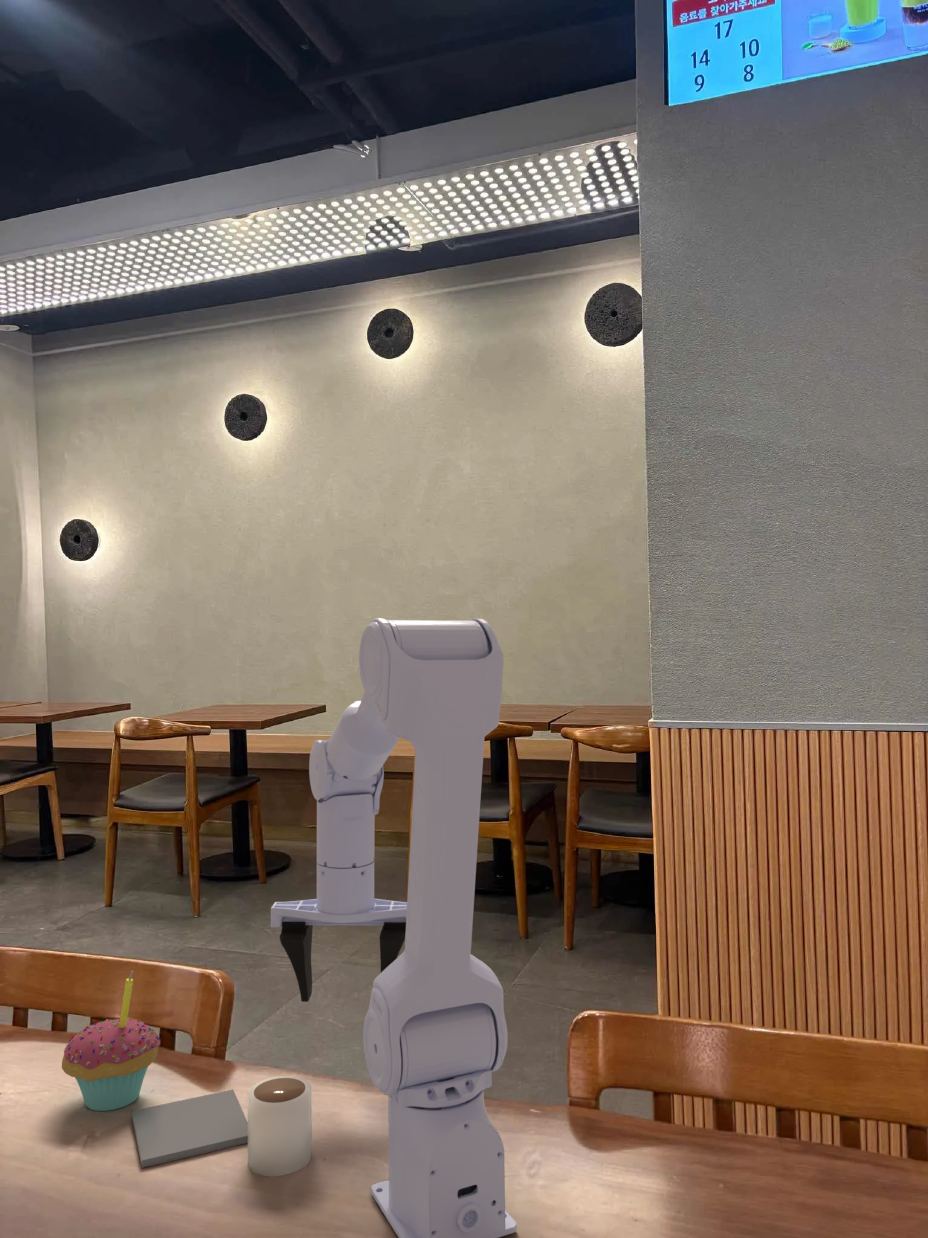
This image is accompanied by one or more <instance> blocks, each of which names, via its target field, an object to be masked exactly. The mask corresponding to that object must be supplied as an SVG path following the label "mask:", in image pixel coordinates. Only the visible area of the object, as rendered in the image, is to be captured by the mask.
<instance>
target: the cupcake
mask: <svg viewBox="0 0 928 1238" xmlns="http://www.w3.org/2000/svg"><path fill="white" fill-rule="evenodd" d="M133 973H134V970H131V971H130V973H129V977H128V978H126V980H125V984H124V991H123V998H122V1002H121V1003H122V1005H121V1009H120V1010H121V1011H120V1017H119V1018H116V1019H108V1020H104V1021H103V1020H100V1021H98V1022H95V1023H92V1024H90V1025H87V1026H85V1027H84V1028H83V1029H81V1030H80V1031H78V1032H77V1033H76V1034H75V1036H72V1037H71V1038H70V1039H68V1043H67V1044H66V1046H65V1048H64V1050H63V1056H62V1061H61V1069H62V1071H63V1073H64V1074H66V1075H68V1076H70V1077H72V1078H75V1081H76V1082H77V1085H78V1086H79V1090H80V1092H81V1095H82V1098H83V1101H84V1105H85V1106H86V1107H87V1108H88V1109H90V1110H92V1111H97V1112H108V1111H114V1110H118V1109H121V1108H124V1107H126V1106H128V1105H131V1104H133V1103H134V1102H135V1101H136V1100H137V1099H138V1098H139V1096H140V1092H141V1089H142V1085H143V1082H144V1079H145V1076H146V1073H147V1071H148V1068H149V1066H151V1064H152V1063H153V1061H154V1060H155V1059H156V1058H157V1057H158V1054H159V1053H158V1052H159V1046H161V1038H160V1034H157V1033H156V1032H155V1029H154V1028H152V1027H151V1026H149V1025H148V1024H147V1023H145V1022H144V1021H141V1020H139V1019H133V1018H132V1017H131V1016H130V1017H129V1016H128V1015H129V1011H130V1006H131V1005H130V1004H131V997H132V990H133V985H134V984H133V983H134V979H133Z"/></svg>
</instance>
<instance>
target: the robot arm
mask: <svg viewBox="0 0 928 1238" xmlns="http://www.w3.org/2000/svg"><path fill="white" fill-rule="evenodd" d="M359 644H360V645H359V652H358V654H359V655H358V657H359V658H358V662H359V663H358V664H359V674H360V680H361V683H362V686H363V689H364V691H363V695H362V697H361V699H360V700H354V701H353V703H351V704H350V705H347V707H346V708H345V709H344V710H343V712H342V714H341V716H340V718H339V720H338V721H337V723H336V725H335V727H334V730H333V732H332V734H331V735H330V737H329V739H326V740H325V739H324V740H323V739H316V740H315V741H313V744H312V747H311V749H310V753H309V763H308V766H309V768H308V773H309V775H308V776H309V784H310V789H311V793H312V795H313V798H314V799H315V800H316V898H313V899H304V900H303V899H302V900H294V901H293V900H290V901H275V902H274V903H273V905H271V907H270V928H281V931H280V932H281V933H280V934H279V941H280V944H281V946H282V948H283V949H284V951H285V953H286V955H287V956H288V959H289V961H290V963H291V966H292V968H293V971H294V973H295V976H296V981H297V984H298V985H297V986H298V988H299V993H300V995H299V996H300V1001H301V1002H303V1003H305V1002H307V1003H308V1002H309V1001H310V998H311V996H312V993H313V972H312V971H313V969H312V944H313V928H314V927H313V926H374V927H375V926H376V927H377V926H382V927H381V928H382V929H380V930H381V931H380V934H379V951H380V954H379V955H380V958H379V959H380V974H378V975H377V976H376V977H375V978H374V980H373V981H372V989H371V991H370V1001H369V1005H368V1006H369V1007H368V1009H367V1013H366V1015H365V1017H364V1021H363V1028H362V1029H363V1031H362V1032H363V1038H362V1039H363V1051H364V1059H365V1063H366V1068H367V1071H368V1074H369V1078H370V1079H371V1081H372V1083H373V1085H374V1086H375V1087H376V1088H377V1089H378V1090H379V1091H380V1093H382V1094H383V1095H385V1096H387V1121H388V1122H387V1135H388V1136H387V1137H388V1141H387V1143H388V1144H387V1145H388V1180H384V1181H380V1182H377V1183H374V1184H372V1185H371V1187H370V1194H371V1195H372V1197H373V1199H374V1200H375V1202H376V1204H377V1205H378V1206H379V1208H380V1210H381V1212H382V1213H383V1215H384V1216H385V1218H386V1220H387V1221H388V1223H389V1224H390V1226H391V1228H392V1229H393V1231H394V1232H395V1234H396V1235H397V1238H503V1237H505V1236H508V1235H511V1234H514V1233H515V1232H517V1230H518V1227H517V1226H518V1224H517V1222H516V1220H515V1219H514V1218H513V1217H512V1216H511V1215H510V1214H509V1212H508V1211H507V1210H506V1189H505V1188H506V1186H505V1185H506V1184H505V1183H506V1182H505V1179H506V1178H505V1177H506V1176H505V1175H506V1173H505V1148H504V1143H503V1140H502V1137H501V1135H500V1133H499V1131H498V1129H496V1126H494V1124H493V1122H492V1121H491V1119H490V1116H489V1115H488V1112H487V1108H486V1104H485V1096H484V1095H485V1094H484V1090H485V1089H488V1088H491V1087H492V1085H493V1082H492V1081H493V1080H492V1079H493V1078H492V1077H493V1074H492V1072H496V1071H498V1070H499V1069H500V1068H501V1067H502V1065H503V1063H504V1060H505V1059H504V1058H505V1056H506V1053H507V1050H508V1027H507V1026H508V1025H507V1020H506V1016H505V1011H504V1009H505V1008H504V989H503V987H502V985H501V982H500V980H499V978H498V977H497V976H496V974H495V972H494V971H493V970H492V968H491V967H489V965H487V964H486V963H485V962H484V961H482V960H480V959H479V958H477V957H476V956H474V955H473V954H471V952H472V951H471V950H472V941H473V940H472V938H473V922H474V921H473V920H474V909H475V908H474V906H475V892H476V891H475V890H476V874H477V860H478V859H477V858H478V844H479V828H480V814H481V813H480V811H481V797H482V796H481V794H482V783H483V781H482V779H483V765H484V752H485V751H484V750H485V737H486V736H487V735H488V734H490V733H491V732H492V731H494V730H495V729H496V728H497V727H499V724H500V723H499V722H500V712H501V707H502V689H503V677H504V675H503V674H504V661H505V660H504V652H503V649H502V647H501V644H500V642H499V640H498V637H497V635H496V633H495V631H494V630H493V628H492V626H491V624H490V623H489V622H488V621H487V620H485V619H483V618H472V619H470V620H465V619H464V620H459V619H457V620H450V619H449V620H446V619H445V620H444V619H443V620H440V619H439V620H437V619H435V620H433V619H432V620H431V619H428V620H427V619H426V620H425V619H424V620H423V619H414V620H413V619H385V618H382V617H381V618H380V617H375V618H373V619H372V620H370V622H369V624H368V625H367V626H366V627H365V628H364V630H363V633H362V635H361V639H360V643H359ZM400 738H401V739H402V740H405V741H408V742H410V743H411V745H412V747H413V750H414V755H415V756H414V770H413V771H414V773H413V774H414V775H413V788H412V789H413V792H412V807H411V808H412V811H411V826H410V827H411V829H410V844H409V845H410V847H409V863H408V864H409V865H408V866H409V867H408V881H407V882H408V883H407V898H406V899H407V900H406V902H405V901H396V900H390V899H389V900H388V899H380V898H375V832H376V831H375V824H376V823H375V820H376V819H375V818H376V815H378V814H379V810H380V801H381V800H380V799H381V798H380V797H381V793H382V791H383V790H382V789H383V787H384V786H383V785H384V777H385V773H384V772H385V771H384V765H385V763H386V762H387V760H388V758H389V757H390V755H391V754H392V752H393V750H394V749H395V747H396V746H397V744H398V742H399V740H400ZM403 945H404V950H403V952H402V953H401V954H400V955H399V953H400V951H401V950H402V947H403Z"/></svg>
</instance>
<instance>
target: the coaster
mask: <svg viewBox="0 0 928 1238" xmlns="http://www.w3.org/2000/svg"><path fill="white" fill-rule="evenodd" d="M244 1113H245V1112H244V1111H243V1108H242V1106H241V1104H240V1102H239V1099H238V1098H237V1095H236V1093H235V1091H234V1089H229V1090H224V1091H219V1092H214V1093H210V1094H206V1095H201V1096H195V1097H191V1098H186V1099H182V1100H177V1101H176V1100H175V1101H172V1102H166V1103H164V1104H159V1105H153V1106H148V1107H144V1108H140V1109H135V1110H132V1111H131V1118H132V1124H133V1129H134V1134H135V1136H134V1137H135V1140H136V1145H137V1150H138V1151H137V1152H138V1156H139V1161H140V1167H141V1169H143V1168H147V1167H152V1166H156V1165H160V1164H161V1165H162V1164H165V1163H169V1162H172V1161H177V1160H182V1159H185V1158H189V1157H194V1156H197V1155H202V1154H207V1153H211V1152H215V1151H219V1150H223V1149H228V1148H232V1147H236V1146H239V1145H245V1144H248V1119H247V1118H246V1115H245V1114H244Z"/></svg>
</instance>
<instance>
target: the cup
mask: <svg viewBox="0 0 928 1238" xmlns="http://www.w3.org/2000/svg"><path fill="white" fill-rule="evenodd" d="M312 1100H313V1099H312V1084H311V1082H310V1081H309V1080H307V1079H305V1078H303V1077H300V1076H296V1075H279V1076H274V1077H273V1076H272V1077H268V1078H264V1079H263V1080H260V1081H257V1083H254V1084H253V1085H252V1086H250V1088H249V1089H248V1091H247V1122H248V1143H247V1166H248V1168H249V1169H250V1170H251V1171H252V1172H253V1173H255V1174H257V1175H260V1176H263V1177H264V1176H266V1177H268V1176H269V1177H279V1176H280V1177H281V1176H287V1175H289V1174H293V1173H295V1172H298V1171H301V1169H304V1168H305V1167H306V1166H308V1164H309V1163H310V1162H311V1159H312V1158H313V1145H312V1144H313V1141H312V1140H313V1139H312V1138H313V1134H312V1133H313V1131H312V1128H313V1127H312V1121H313V1120H312V1118H313V1117H312V1115H313V1114H312V1113H313V1112H312V1111H313V1109H312V1108H313V1107H312V1106H313V1105H312V1102H313V1101H312Z"/></svg>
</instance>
